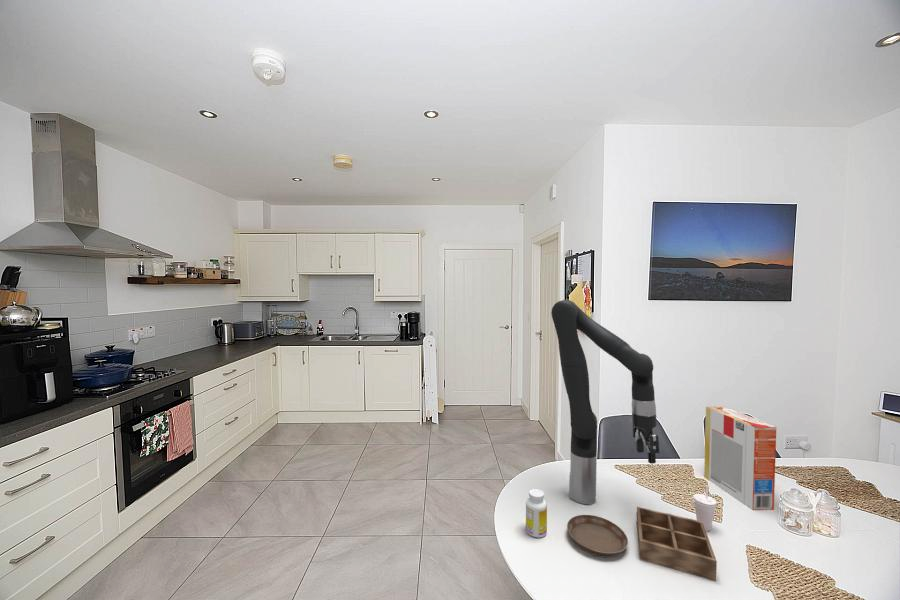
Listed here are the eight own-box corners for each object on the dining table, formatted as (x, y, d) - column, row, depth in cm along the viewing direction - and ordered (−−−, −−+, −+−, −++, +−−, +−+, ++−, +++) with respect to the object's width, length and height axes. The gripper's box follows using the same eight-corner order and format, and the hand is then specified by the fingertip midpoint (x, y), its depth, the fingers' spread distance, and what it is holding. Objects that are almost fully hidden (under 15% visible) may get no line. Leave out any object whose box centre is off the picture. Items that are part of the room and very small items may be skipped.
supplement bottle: (547, 527, 119) (548, 489, 119) (546, 540, 113) (546, 500, 113) (527, 523, 122) (527, 485, 121) (524, 535, 115) (524, 496, 115)
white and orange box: (773, 509, 130) (776, 427, 129) (752, 510, 130) (754, 427, 129) (722, 476, 153) (724, 406, 152) (704, 477, 153) (705, 406, 152)
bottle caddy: (639, 559, 106) (639, 540, 105) (636, 522, 122) (636, 506, 122) (716, 580, 98) (716, 561, 98) (701, 538, 115) (702, 521, 114)
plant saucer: (626, 532, 118) (627, 522, 118) (629, 570, 102) (629, 559, 102) (569, 517, 125) (570, 509, 125) (563, 551, 109) (563, 541, 109)
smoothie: (720, 535, 116) (721, 492, 116) (697, 532, 117) (698, 490, 117) (710, 522, 122) (711, 482, 122) (689, 520, 124) (690, 479, 123)
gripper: (624, 405, 134) (626, 449, 135) (642, 418, 120) (644, 467, 120) (645, 404, 134) (647, 448, 134) (665, 418, 120) (668, 466, 120)
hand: (646, 457), depth 127 cm, fingers open, 8 cm apart
